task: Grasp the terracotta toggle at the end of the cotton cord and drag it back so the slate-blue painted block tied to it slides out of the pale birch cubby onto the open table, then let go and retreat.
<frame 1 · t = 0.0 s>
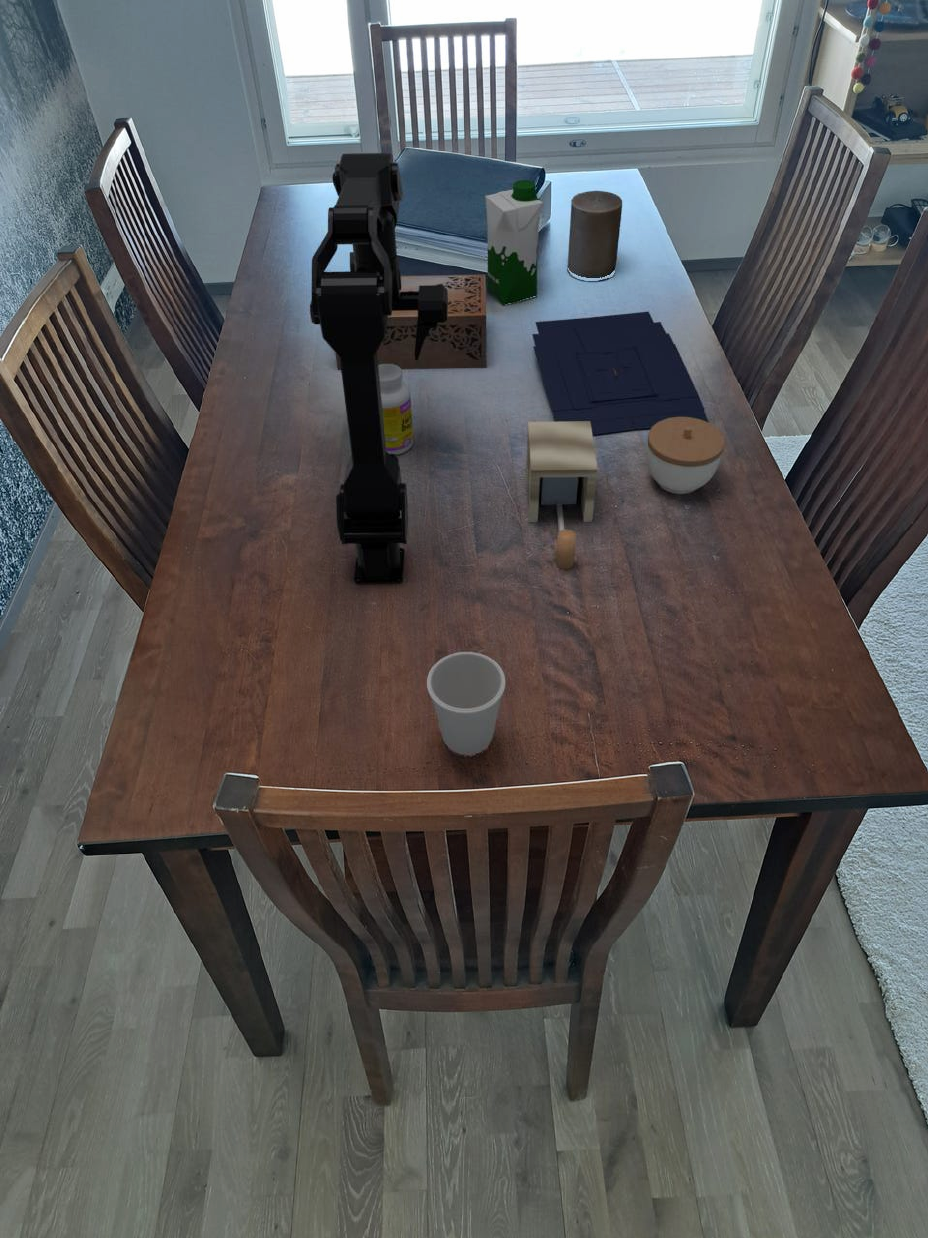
hand: (385, 359, 132), 15 cm above the table, fingers open, 9 cm apart
tissue box cover: (413, 349, 163), on the table
lidded jar: (678, 482, 135), on the table
pillar candle: (590, 271, 181), on the table
dixie cup: (467, 737, 104), on the table
supplement bottle: (392, 445, 143), on the table
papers: (611, 383, 154), on the table
tethered block: (557, 493, 133), on the table
cubby lane: (558, 499, 132), on the table
milk carton: (511, 294, 175), on the table
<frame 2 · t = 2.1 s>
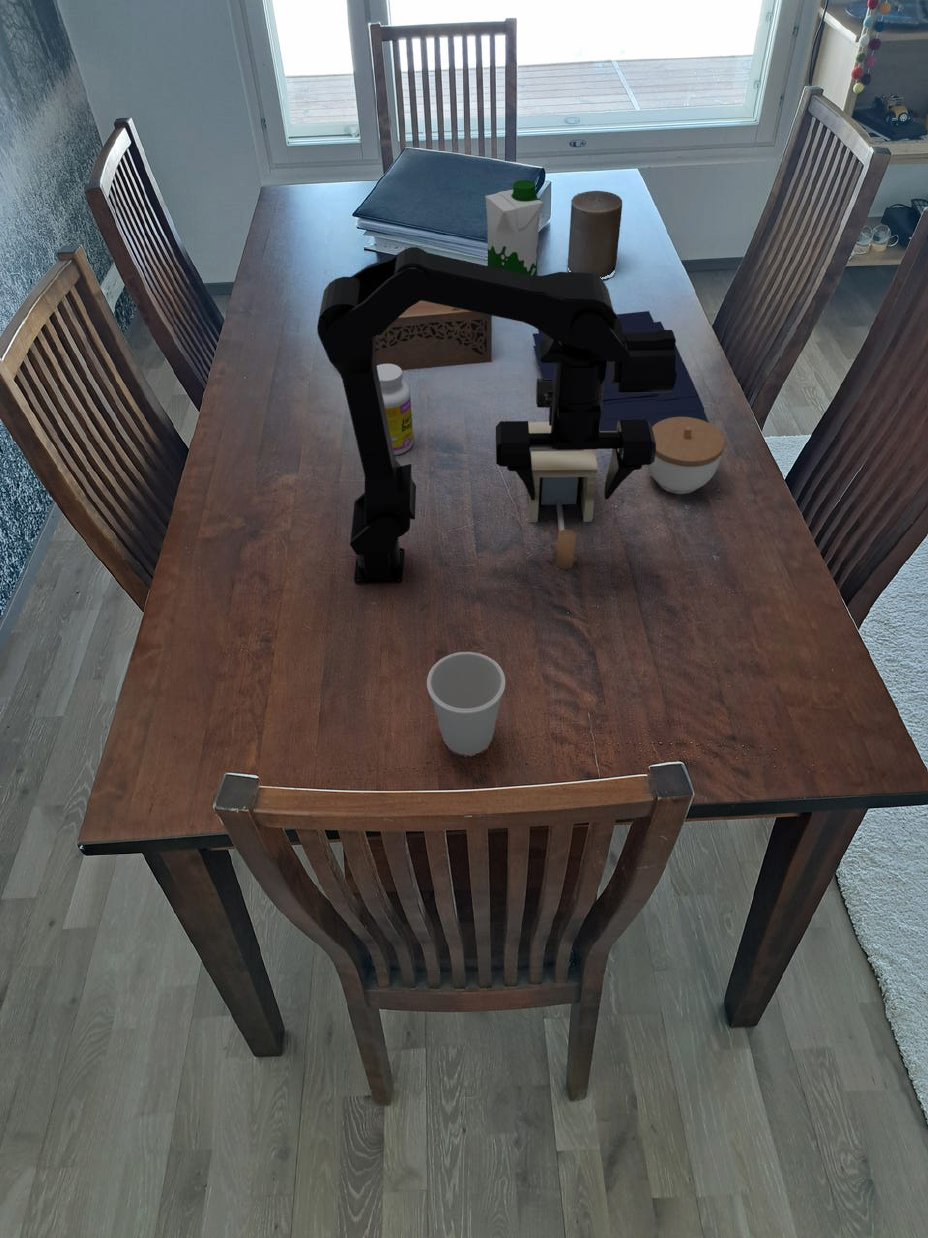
hand: (569, 497, 115), 11 cm above the table, fingers open, 9 cm apart
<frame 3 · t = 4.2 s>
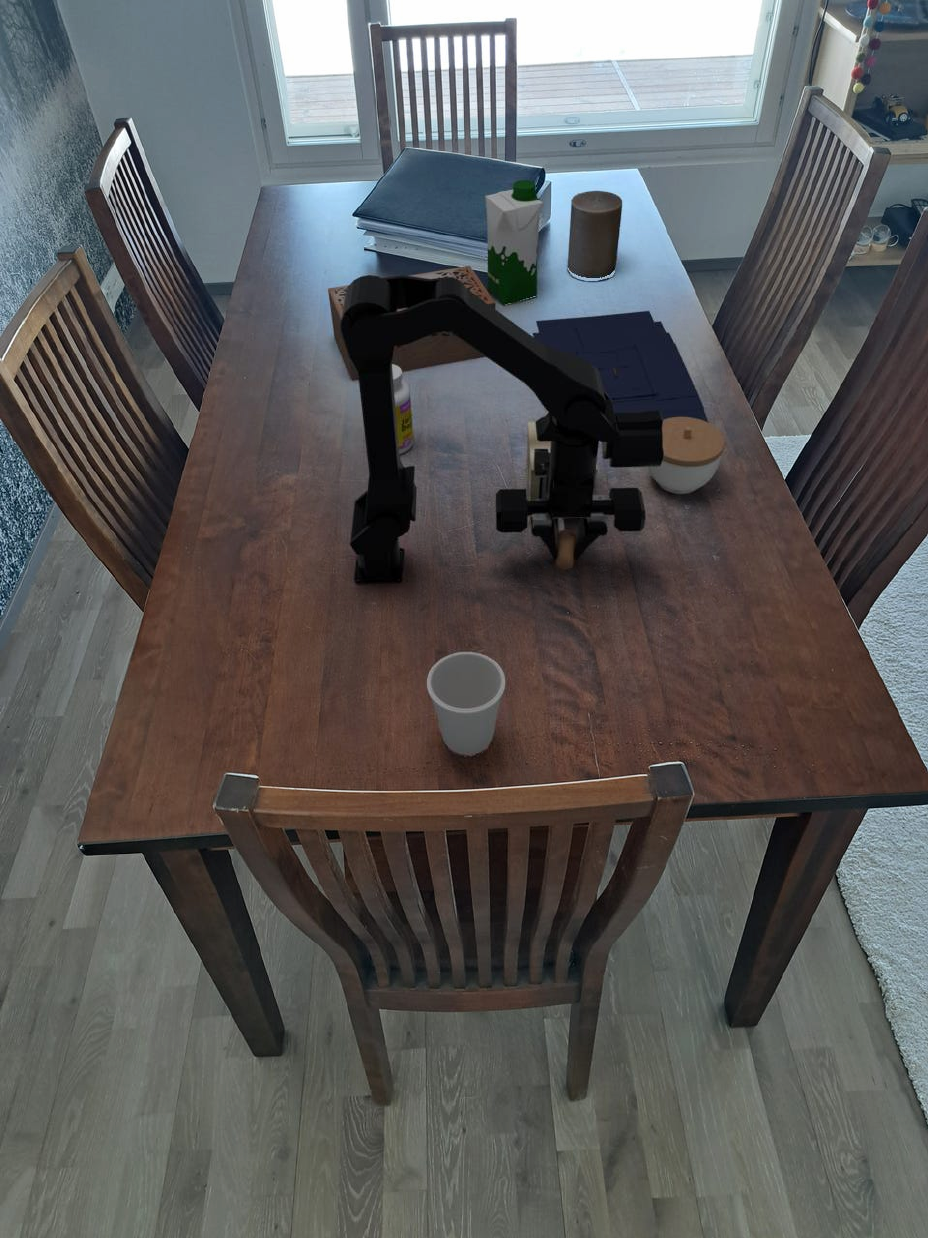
hand: (565, 557, 122), 1 cm above the table, fingers closed on tethered block, 2 cm apart
tethered block: (557, 493, 133), on the table, touching gripper
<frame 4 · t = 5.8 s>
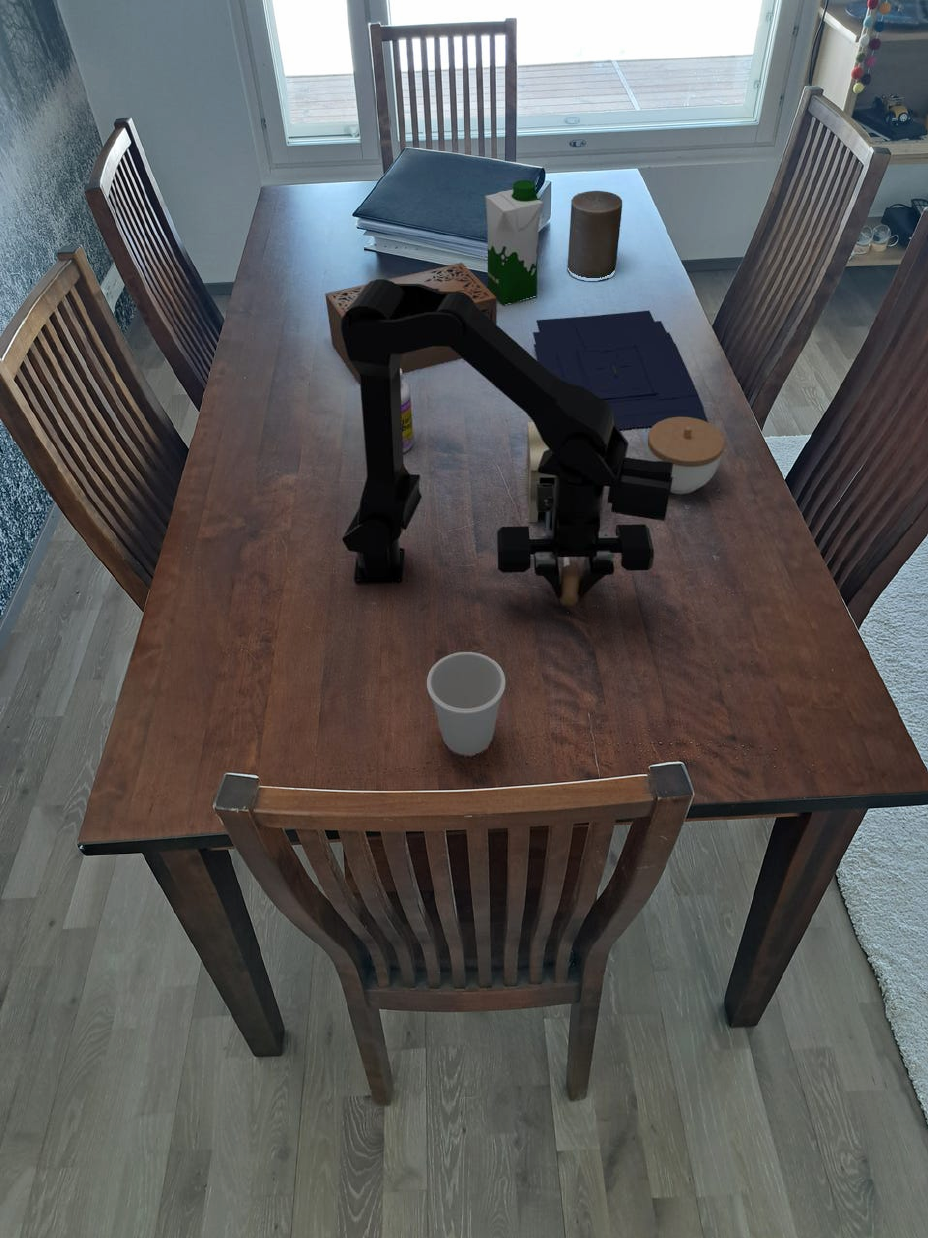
hand: (569, 595, 117), 1 cm above the table, fingers closed on tethered block, 2 cm apart
tethered block: (563, 523, 129), on the table, touching gripper
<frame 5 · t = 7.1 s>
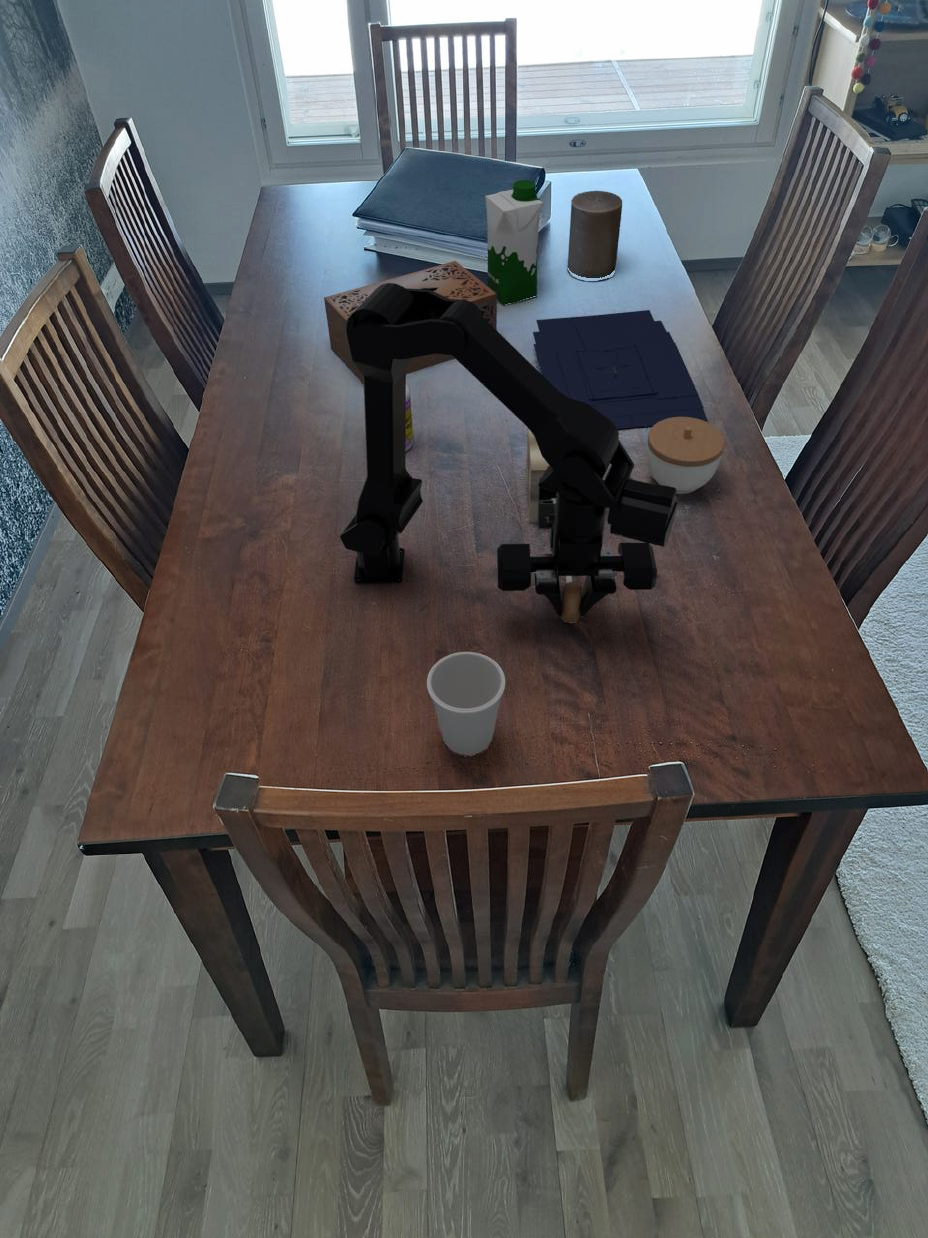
hand: (570, 613, 115), 1 cm above the table, fingers closed on tethered block, 2 cm apart
tethered block: (567, 538, 127), on the table, touching gripper
when the fingers open (1 cm above the table, at t = 7.4 s): tethered block stays where it is, on the table.
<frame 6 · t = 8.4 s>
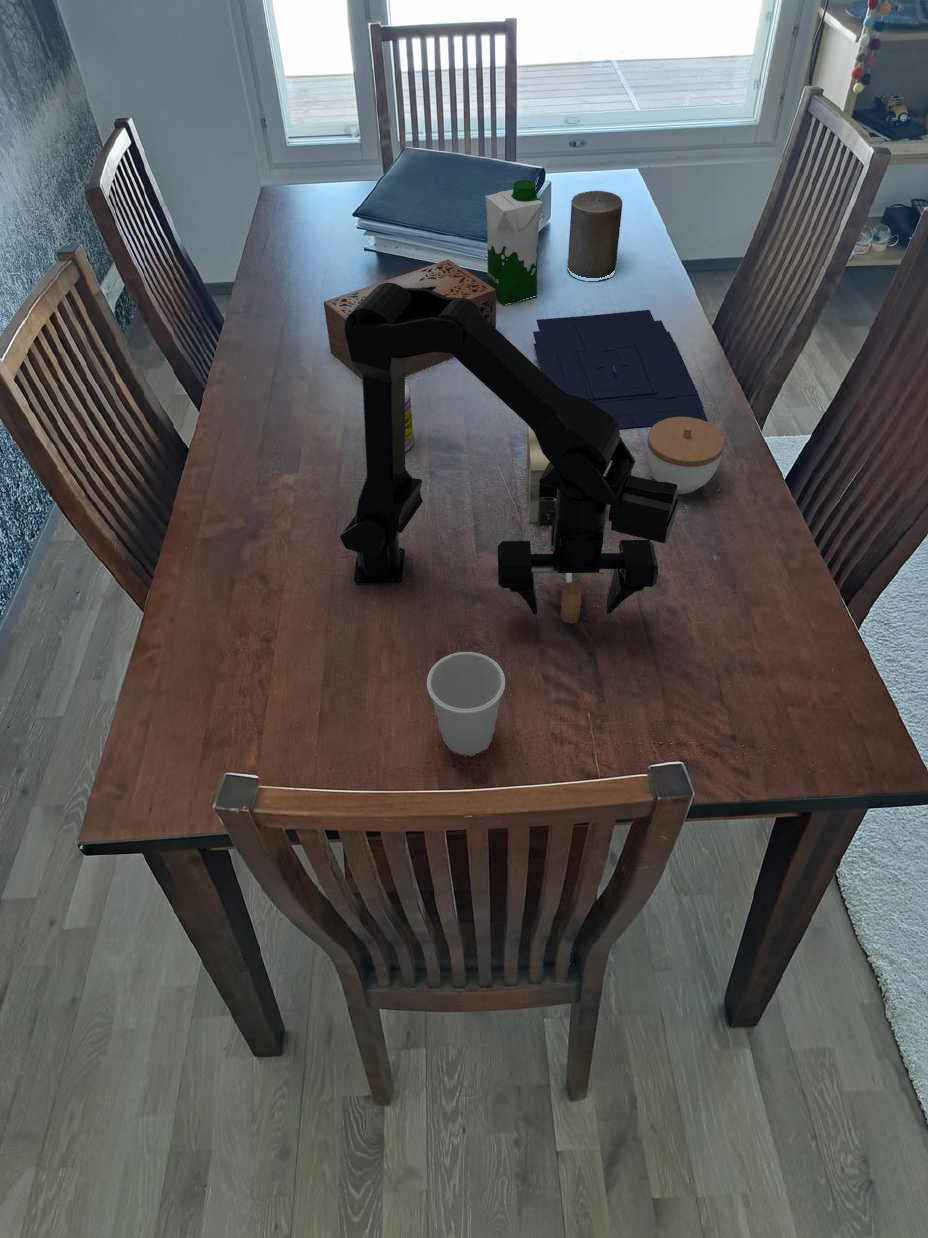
hand: (571, 611, 115), 2 cm above the table, fingers open, 9 cm apart
tethered block: (567, 538, 127), on the table
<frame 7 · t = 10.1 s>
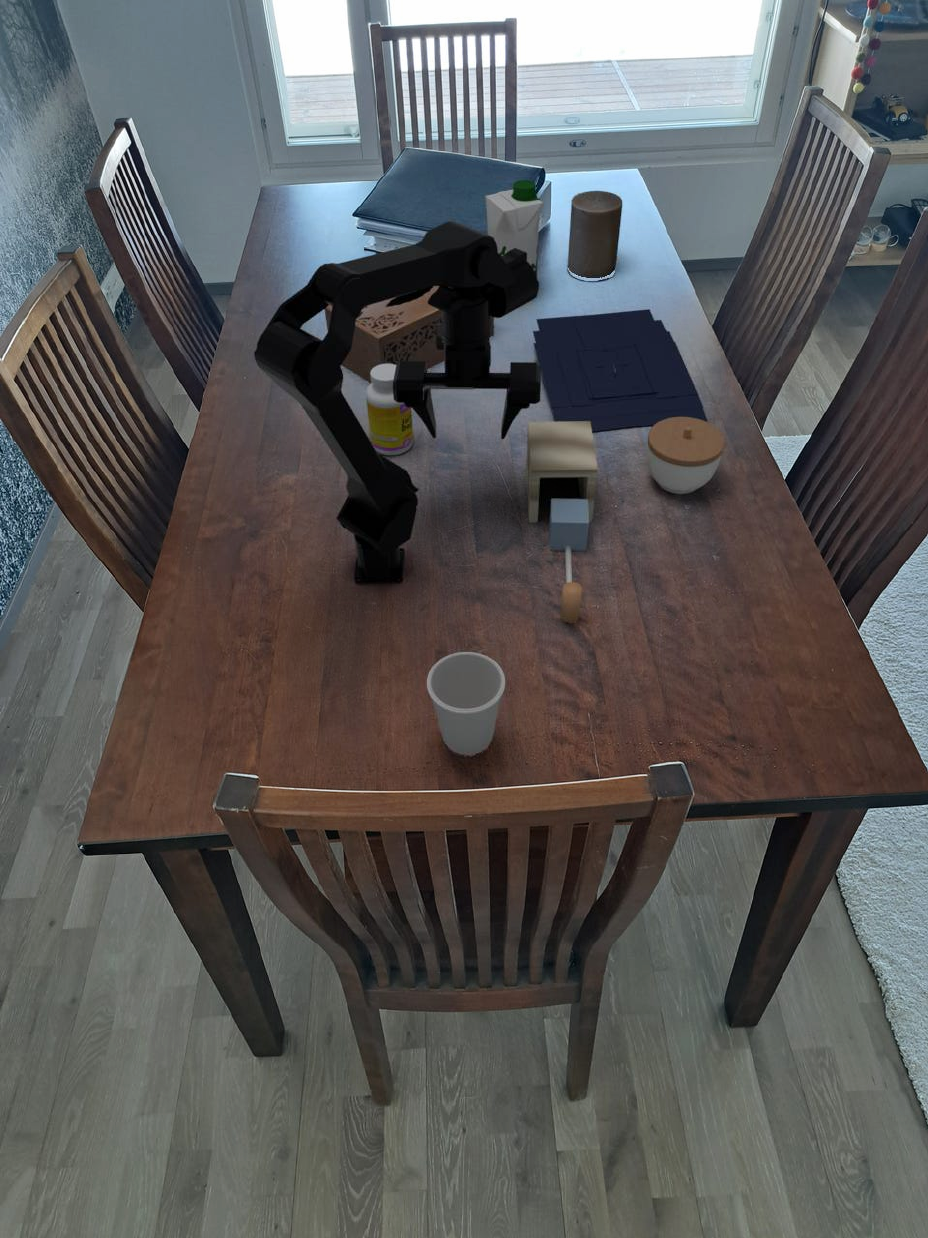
hand: (468, 436, 123), 12 cm above the table, fingers open, 9 cm apart
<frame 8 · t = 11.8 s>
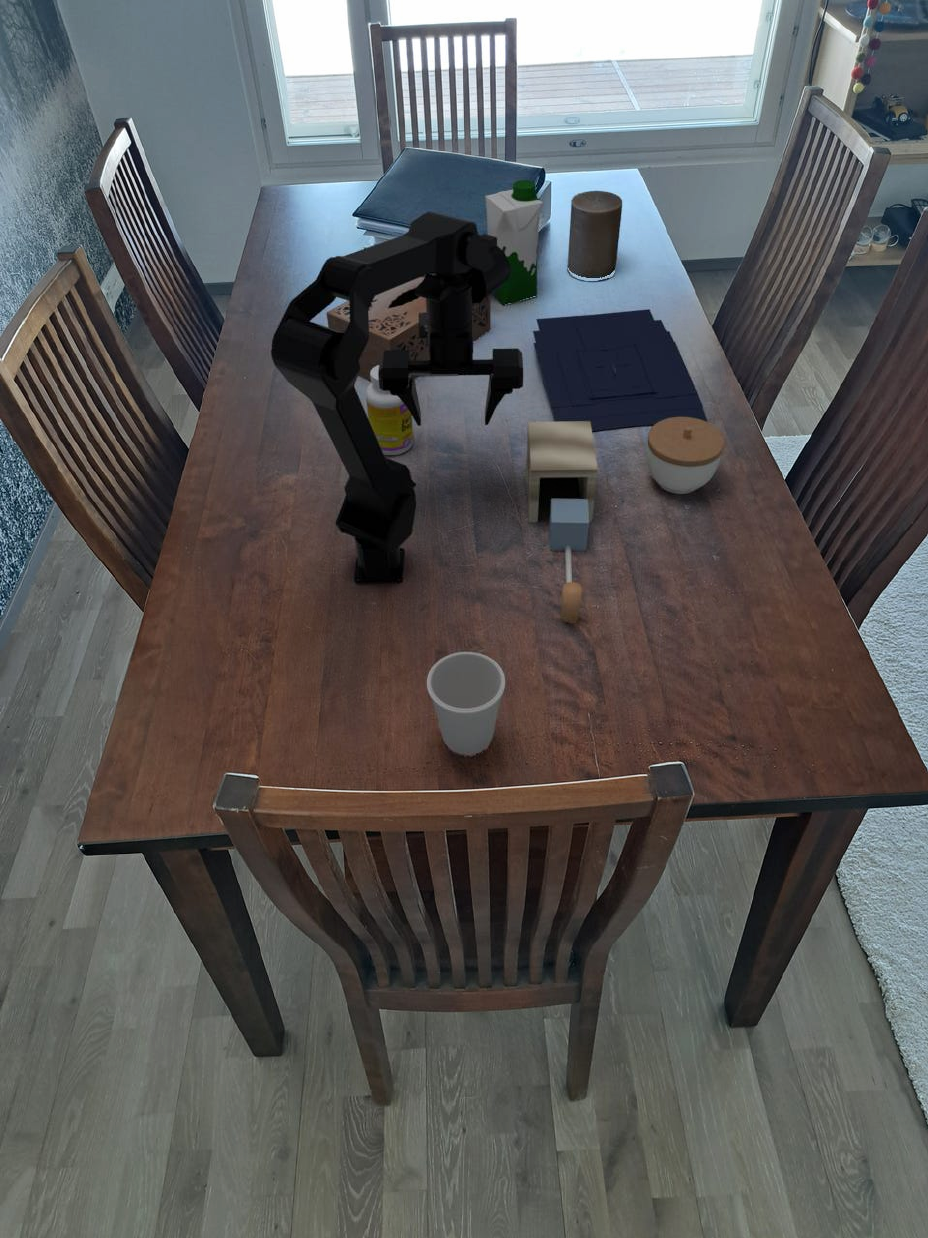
hand: (453, 423, 125), 12 cm above the table, fingers open, 9 cm apart
at the end: tethered block inside the target area (9.4 cm from its centre), on the table; tethered block moved 9.9 cm from its start; the gripper is holding nothing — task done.
